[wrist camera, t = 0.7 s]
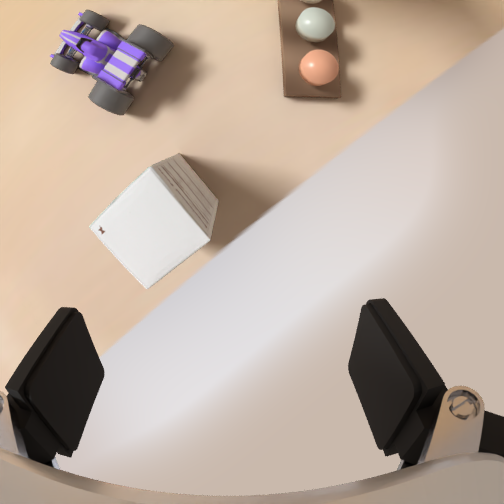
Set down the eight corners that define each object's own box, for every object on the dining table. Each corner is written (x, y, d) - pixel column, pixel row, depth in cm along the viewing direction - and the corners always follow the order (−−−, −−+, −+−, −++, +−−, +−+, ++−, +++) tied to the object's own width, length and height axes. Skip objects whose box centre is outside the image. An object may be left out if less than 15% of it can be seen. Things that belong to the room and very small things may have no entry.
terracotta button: (297, 53, 25) (301, 48, 23) (331, 55, 25) (337, 51, 23) (299, 85, 26) (303, 82, 24) (333, 86, 26) (339, 84, 24)
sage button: (294, 12, 23) (298, 5, 21) (327, 15, 23) (333, 9, 21) (296, 41, 24) (300, 35, 22) (330, 43, 24) (336, 38, 22)
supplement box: (173, 238, 35) (145, 293, 23) (133, 191, 32) (84, 226, 21) (221, 201, 33) (213, 242, 22) (180, 150, 31) (148, 163, 19)
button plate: (275, -20, 23) (277, -25, 21) (326, -15, 23) (329, -20, 22) (283, 96, 29) (286, 94, 28) (336, 98, 29) (340, 97, 28)
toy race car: (90, 5, 22) (66, -11, 16) (178, 49, 26) (165, 32, 20) (48, 67, 25) (18, 61, 19) (129, 116, 29) (106, 115, 23)
